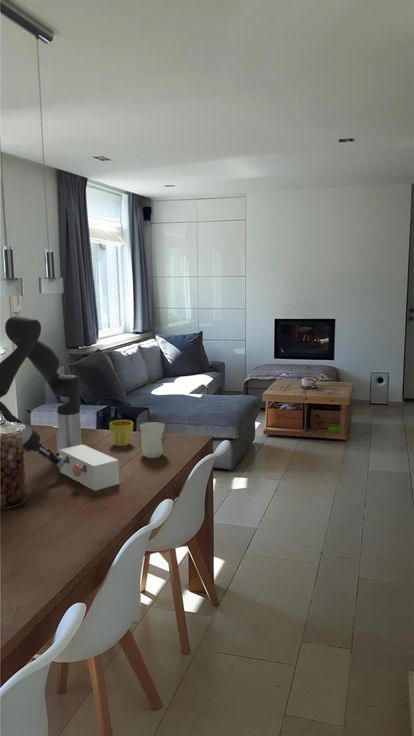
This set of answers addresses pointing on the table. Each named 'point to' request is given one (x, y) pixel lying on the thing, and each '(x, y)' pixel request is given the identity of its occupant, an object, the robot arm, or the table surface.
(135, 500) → the table surface
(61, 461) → the blue key
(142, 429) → the pitcher
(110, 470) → the key box
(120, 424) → the plant pot
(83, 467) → the red key
